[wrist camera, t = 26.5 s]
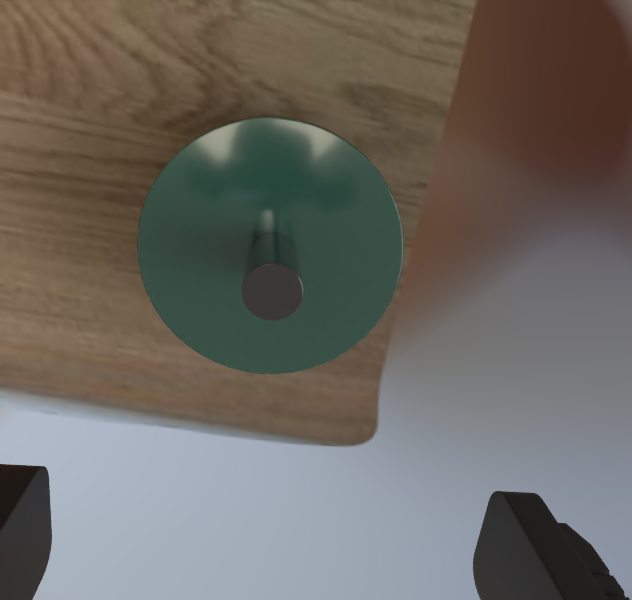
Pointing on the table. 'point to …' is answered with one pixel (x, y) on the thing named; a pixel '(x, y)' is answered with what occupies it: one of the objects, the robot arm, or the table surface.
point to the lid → (270, 245)
